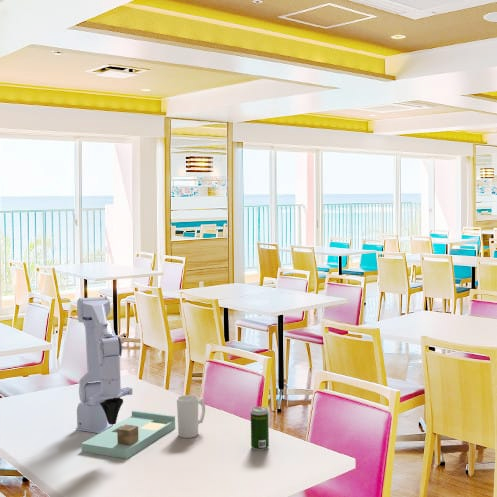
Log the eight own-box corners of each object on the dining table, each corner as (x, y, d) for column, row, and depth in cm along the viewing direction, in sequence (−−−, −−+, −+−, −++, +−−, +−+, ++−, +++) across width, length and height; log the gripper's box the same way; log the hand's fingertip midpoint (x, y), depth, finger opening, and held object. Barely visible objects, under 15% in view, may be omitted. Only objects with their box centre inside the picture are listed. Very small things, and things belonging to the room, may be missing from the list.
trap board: (81, 451, 214) (81, 438, 214) (133, 422, 241) (133, 410, 241) (126, 458, 208) (126, 445, 208) (175, 427, 235) (174, 415, 234)
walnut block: (117, 443, 214) (117, 429, 213) (125, 438, 218) (125, 424, 217) (130, 445, 212) (129, 430, 211) (138, 440, 216) (138, 426, 216)
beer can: (272, 449, 214) (271, 410, 213) (256, 452, 212) (255, 412, 211) (263, 443, 219) (263, 405, 218) (248, 446, 217) (247, 408, 216)
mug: (185, 440, 223) (184, 402, 222) (173, 434, 228) (172, 397, 227) (211, 432, 229) (210, 396, 228) (199, 427, 235) (198, 391, 234)
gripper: (98, 385, 201) (100, 432, 202) (138, 375, 212) (139, 420, 213) (83, 381, 206) (85, 427, 207) (123, 371, 217) (124, 415, 218)
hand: (112, 423), depth 210 cm, fingers closed
